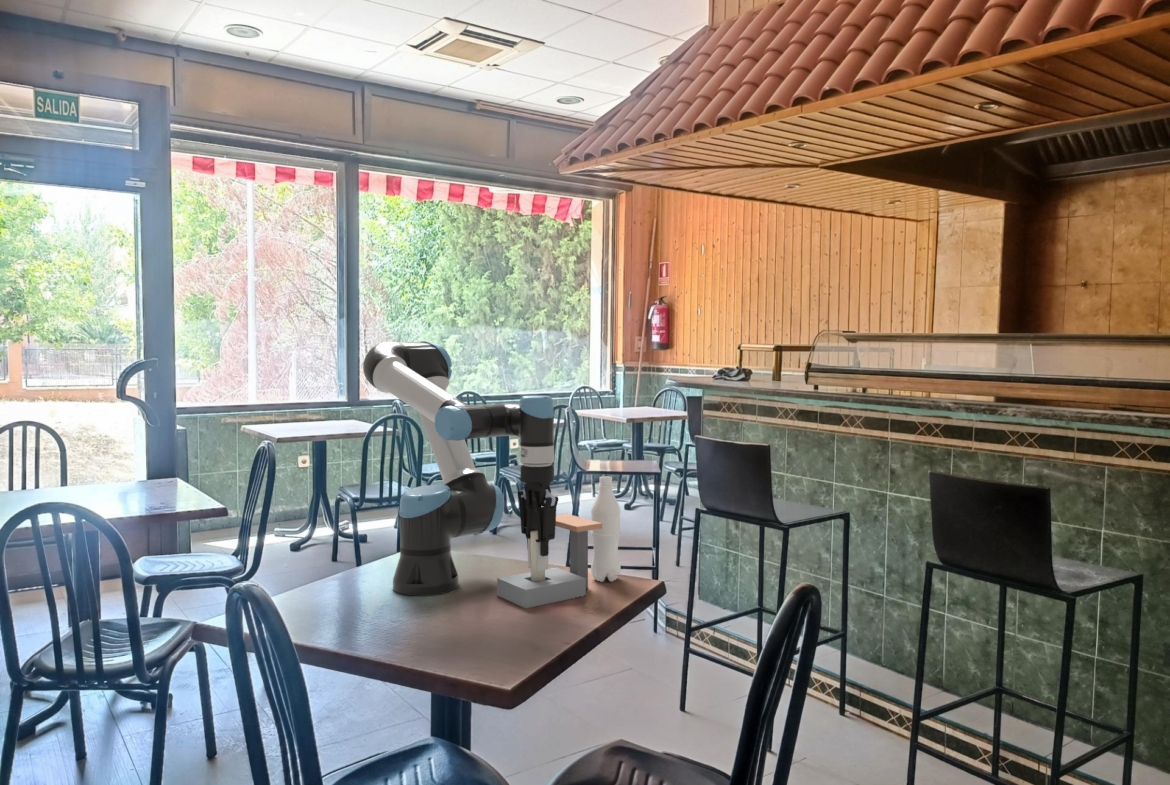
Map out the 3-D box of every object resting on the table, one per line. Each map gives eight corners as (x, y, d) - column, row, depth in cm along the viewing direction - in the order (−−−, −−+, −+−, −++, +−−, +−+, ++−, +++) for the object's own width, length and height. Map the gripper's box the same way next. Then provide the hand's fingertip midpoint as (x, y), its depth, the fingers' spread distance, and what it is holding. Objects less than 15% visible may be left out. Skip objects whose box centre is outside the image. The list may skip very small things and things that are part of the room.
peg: (539, 582, 185) (539, 529, 185) (547, 585, 183) (547, 532, 182) (528, 584, 183) (527, 531, 183) (536, 587, 181) (535, 533, 180)
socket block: (497, 595, 184) (497, 578, 184) (555, 583, 193) (555, 567, 193) (525, 608, 174) (525, 590, 174) (585, 595, 184) (585, 578, 184)
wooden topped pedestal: (542, 585, 192) (542, 517, 192) (567, 580, 196) (566, 513, 196) (577, 598, 181) (577, 526, 180) (602, 593, 185) (602, 523, 185)
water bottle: (625, 578, 198) (625, 476, 197) (610, 585, 192) (610, 480, 191) (600, 574, 202) (600, 474, 201) (585, 580, 196) (585, 477, 195)
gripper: (504, 462, 186) (505, 563, 187) (542, 469, 173) (543, 578, 174) (532, 459, 191) (533, 559, 191) (571, 466, 178) (571, 572, 179)
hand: (538, 568), depth 183 cm, fingers closed on peg, 3 cm apart
